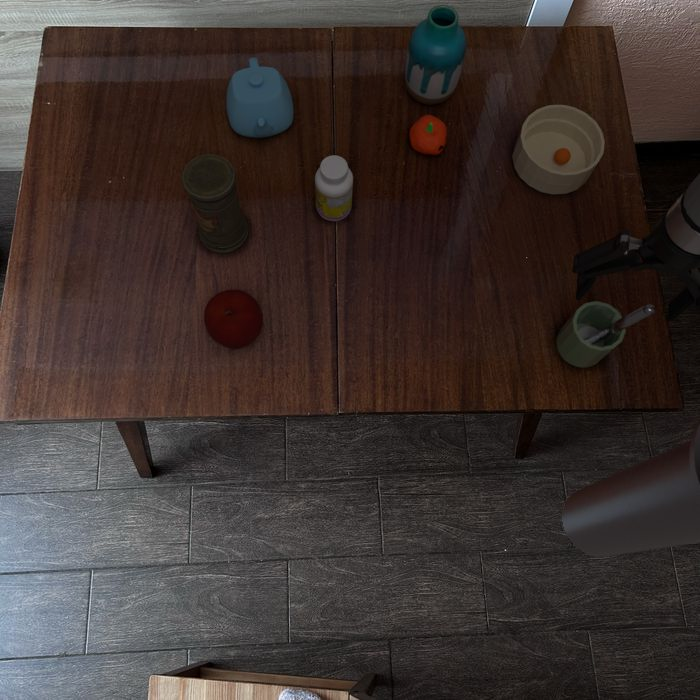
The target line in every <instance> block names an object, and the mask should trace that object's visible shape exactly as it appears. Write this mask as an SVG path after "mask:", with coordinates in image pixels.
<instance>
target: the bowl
mask: <svg viewBox="0 0 700 700" xmlns="http://www.w3.org/2000/svg"><path fill="white" fill-rule="evenodd" d="M605 144H606V142H605V138H604V133H603V131H602V129H601V128H600V126H599V124H598V122H597V121H596V120H595V119H594V118H592V116H591V115H589V114H588V113H587V112H585V111H583V110H581V109H578V108H577V107H574V106H570V105H566V104H550V105H549V104H548V105H546V106H542V107H540V108H537V109H536V110H534V111H533V112H532V113H530V114H529V115H527V117H526V119H525V120H524V122H523V124H522V125H521V128H520V130H519V132H518V136H517V138H516V141H515V143H514V145H513V150H512V155H511V158H512V162H513V163H512V164H513V168H514V170H515V172H516V173H517V175H518V176H519V178H520V179H521V180H522V181H523V182H524V183H525V184H526V185H528V186H529V187H530V188H533V189H534V190H535V191H538V192H540V193H544V194H548V195H566V194H569V193H572V192H575V191H577V190H579V189H580V188H581V187H582V186H584V185H585V184H586V183H587V182H588V180H589V178H590V177H591V175H592V173H593V171H595V169H596V167H597V165H598V164H599V162H600V160H601V158H602V157H603V155H604V152H605ZM561 148H565V149H567V150H569V152H570V154H571V158H570V160H569V162H568V163H566V164H563V165H560V164H558V163H556V161H555V159H554V155H555V152H556V151H557V150H559V149H561Z"/></svg>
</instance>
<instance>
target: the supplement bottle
mask: <svg viewBox="0 0 700 700" xmlns="http://www.w3.org/2000/svg"><path fill="white" fill-rule="evenodd" d="M319 166H320V167H318V169H317V170H316V173H315V175H314V194H315V195H314V197H315V208H316V211H317V214H319V215H320V217H321V218H323V219H324V220H326V221H330V222H338V221H341V220H343V219H345V218H346V217H347V216H348V215H350V213H351V212H352V211H351V210H352V207H353V191H354V190H353V188H354V175H353V172H352V171H351V168H349V165H348V162H347V160H346V159H345V158H344V157H342V156H340V155H335V154H333V155H329V156H326V157H324V159H322V161H321V162H320V165H319Z"/></svg>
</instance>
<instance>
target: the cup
mask: <svg viewBox="0 0 700 700" xmlns="http://www.w3.org/2000/svg"><path fill="white" fill-rule="evenodd" d="M621 318H623V316H622V314H621V313H620V312H619V310H618V309H616V308H615V307H613V305H611V304H609V303H606V302H602V301H598V300H595V301H590V302H585V303H584V304H582V305H581V306H580V307H578V308H577V309H576V310H575V312H574V313H572V315H571V316H570V317H569V318H568V319H567V321H566V322H564V324H563V325H562V326H561V328H560V330H559V332H558V333H557V336H556V342H555V343H556V349H557V352H558V353H559V355H560V357H561V358H562V359H563V360H564V361H565V362H566V363H567V364H569V365H570V366H574V367H575V368H591V367H593V366H596V365H597V364H598V363H599V362H601V361H602V360H603V359H604V358H605V357H606V356H608V355H609V354H610V353H611V352H612V351H613V350H614V349H615V348H617V346H619V345H620V344H621V343H622V342H623V340H624V338H625V334H626V332H627V331H626V328H625V329H623V330H621V331H619V332H617V333H615V334H613V335H611V336H609V337H607V338H605V339H604V347H599V346H595V345H591V344H590V343H588V342H587V341H586V340H584V339H583V338H582V336H581V335H580V333H579V331H578V329H580V328H582V327H585V326H590V327H593V328H596V329H597V330H598V331H599V330H601V329H603V328H604V327H606V326H608V325H610V324H612V323H614V322H615V321H617V320H619V319H621Z"/></svg>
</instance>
